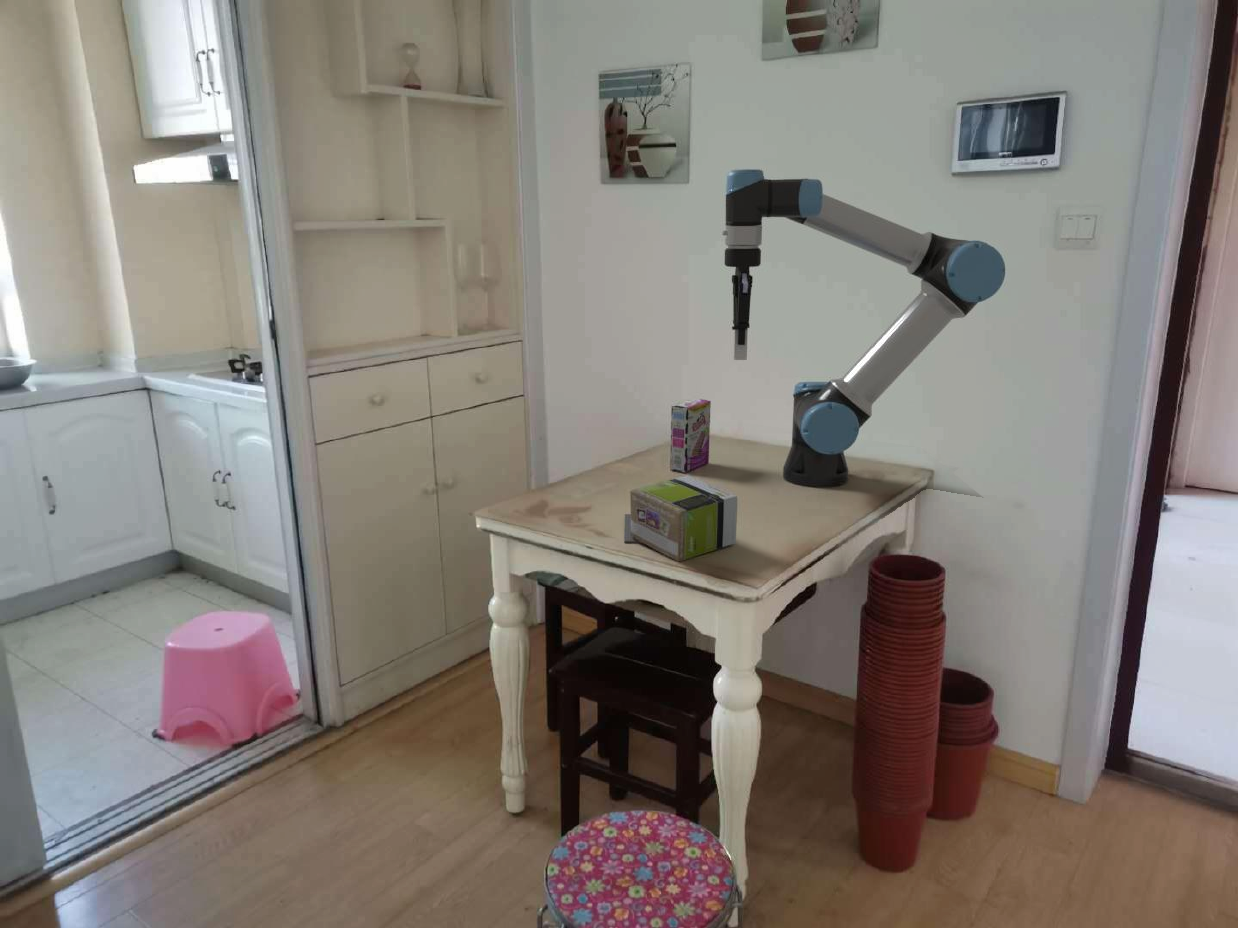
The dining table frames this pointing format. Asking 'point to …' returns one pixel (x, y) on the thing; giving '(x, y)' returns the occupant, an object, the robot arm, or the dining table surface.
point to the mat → (629, 530)
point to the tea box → (683, 517)
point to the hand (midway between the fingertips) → (740, 359)
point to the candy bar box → (690, 435)
